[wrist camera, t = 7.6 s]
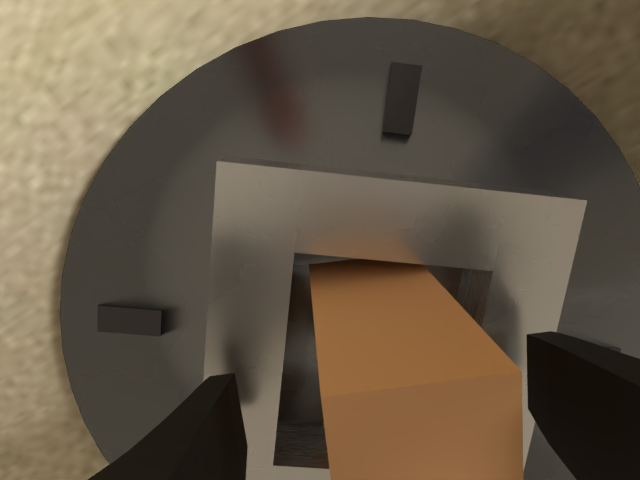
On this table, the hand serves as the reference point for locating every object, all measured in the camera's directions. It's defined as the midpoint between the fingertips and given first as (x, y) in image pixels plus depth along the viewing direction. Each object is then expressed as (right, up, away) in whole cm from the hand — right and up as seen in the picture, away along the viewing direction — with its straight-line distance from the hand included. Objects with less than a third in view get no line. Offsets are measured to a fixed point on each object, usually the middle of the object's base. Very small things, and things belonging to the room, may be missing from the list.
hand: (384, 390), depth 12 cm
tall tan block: (0, +1, +3) cm, 3 cm away
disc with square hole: (0, +1, +3) cm, 3 cm away
